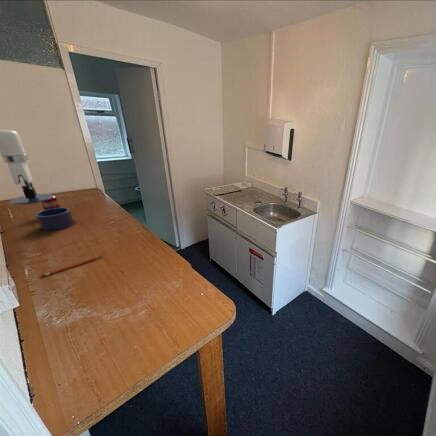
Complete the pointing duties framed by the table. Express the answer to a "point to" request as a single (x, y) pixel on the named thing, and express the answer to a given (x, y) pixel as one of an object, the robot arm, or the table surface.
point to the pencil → (70, 266)
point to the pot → (55, 218)
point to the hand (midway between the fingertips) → (31, 196)
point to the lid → (32, 199)
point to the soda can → (51, 203)
